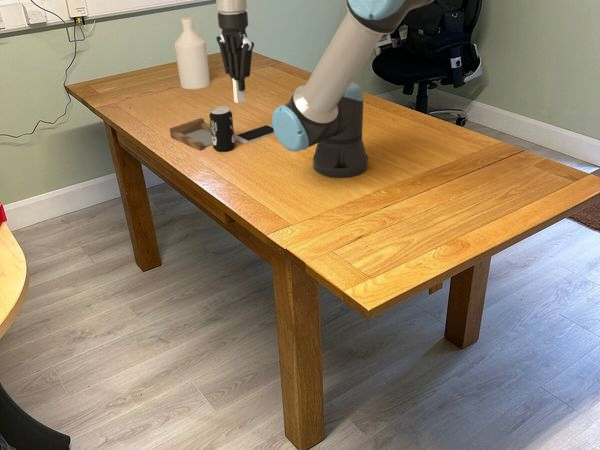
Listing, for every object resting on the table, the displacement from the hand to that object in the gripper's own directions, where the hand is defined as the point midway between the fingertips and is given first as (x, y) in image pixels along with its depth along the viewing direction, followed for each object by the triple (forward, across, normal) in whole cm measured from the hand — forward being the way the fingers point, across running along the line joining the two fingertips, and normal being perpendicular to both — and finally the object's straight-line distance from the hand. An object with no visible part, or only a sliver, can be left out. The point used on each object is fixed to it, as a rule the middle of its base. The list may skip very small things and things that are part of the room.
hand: (239, 101), depth 160 cm
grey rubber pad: (+17, +20, 0) cm, 27 cm away
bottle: (+18, +68, -31) cm, 77 cm away
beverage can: (+17, +10, 0) cm, 19 cm away
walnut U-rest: (+17, +20, 0) cm, 27 cm away
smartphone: (+17, +10, -14) cm, 24 cm away
